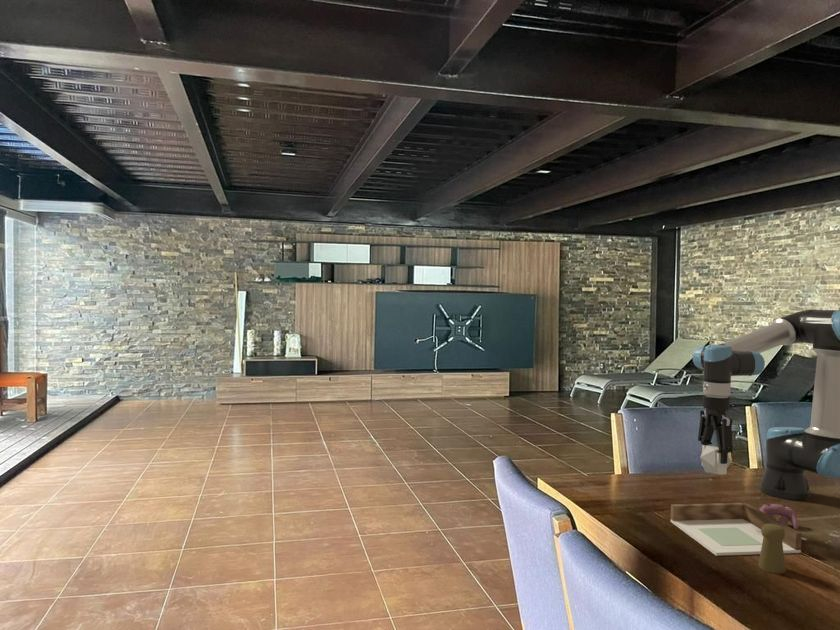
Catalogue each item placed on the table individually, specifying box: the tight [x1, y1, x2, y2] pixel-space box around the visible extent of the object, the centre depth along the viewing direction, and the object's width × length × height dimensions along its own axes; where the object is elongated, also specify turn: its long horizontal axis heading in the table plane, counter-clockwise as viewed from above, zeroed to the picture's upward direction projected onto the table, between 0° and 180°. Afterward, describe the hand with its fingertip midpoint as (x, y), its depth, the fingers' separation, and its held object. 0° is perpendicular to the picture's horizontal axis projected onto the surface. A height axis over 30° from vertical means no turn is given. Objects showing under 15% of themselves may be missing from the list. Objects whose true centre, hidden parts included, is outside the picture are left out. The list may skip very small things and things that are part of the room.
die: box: [699, 445, 731, 476], centre depth 185 cm, size 8×9×10 cm
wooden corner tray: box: [670, 502, 802, 557], centre depth 174 cm, size 24×24×5 cm
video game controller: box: [759, 503, 799, 530], centre depth 183 cm, size 10×5×7 cm, turn 72°
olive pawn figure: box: [757, 524, 786, 574], centre depth 153 cm, size 6×6×11 cm
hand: (713, 469), depth 186 cm, fingers closed on die, 8 cm apart
